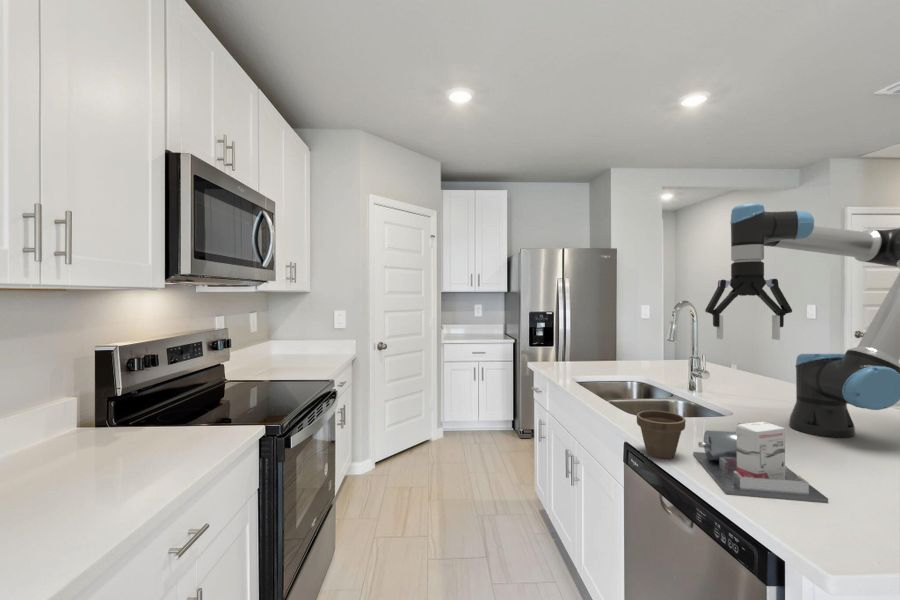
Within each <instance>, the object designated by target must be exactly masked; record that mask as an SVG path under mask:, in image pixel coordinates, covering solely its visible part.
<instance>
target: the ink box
mask: <svg viewBox="0 0 900 600" xmlns="http://www.w3.org/2000/svg"><path fill="white" fill-rule="evenodd" d="M735 427H736V428H735V429H736V431H735V432H736V439H737V472H738V473H739V474H740V475H741V476H742V477H752V478H765V479H778V480H785V465H786V428H784V427H782V426H778V425H776V424H773V423H771V422H770V423H769V422H766V421H756V422H755V421H754V422H748V423H737V425H735Z"/></svg>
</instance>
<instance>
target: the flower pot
mask: <svg viewBox="0 0 900 600" xmlns="http://www.w3.org/2000/svg"><path fill="white" fill-rule="evenodd" d="M686 422H687V421H686V418H685V417H684V416H682V415H680V414H677V413H674V412H670V411H665V410H664V411H663V410H642V411H639V412H637V413H636V424H637V426H638V427H639V428H640V429H641V430H640V431H641V436H642V439H643V443H644V447H645V451H646V453H647V455H648V456H651V457H653V458H658V459H662V460H663V459H665V460H666V459H667V460H668V459H672V458H674V457H675V455H676V452H677V449H678V445H679V443H680V442H679V441H680V437H681V434H682V431H684V430H685V429H686Z"/></svg>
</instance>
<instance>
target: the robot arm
mask: <svg viewBox="0 0 900 600" xmlns="http://www.w3.org/2000/svg"><path fill="white" fill-rule="evenodd" d="M765 210H766V209H765V206H764V204H763V203H757V202H755V203H744V204H738V205H736V206H734V207H733V208H732V209H731V214H730V223H729V224H730V245H731V246H730V249H731V250H730V260H731V261H732V262H731V264H730V275H731V276H730V277H731V278H730V280H726V279H719V280H718V281H717V288H716V290H715V292H714V293H713V295H712V297H711V299H710V301H709V303H708V304H707V306H706V308H705V309H704V312H705V313H706V314H710V315H712V325H713V327H714V328H716V339H719V340H724V315H721V314H722V313H723V312H724V311H725V309H726V308H727V307H728V306H729V305H730V304H731V303H732V302H733V301H734V300H735V299H736V298H737V297H738V296H742V297H745V296H757V298H759V299H761V301H762V302H763V303H764V304H765V305H766V306H767V307H768V308H769V309H770V310H771V311H772V312H773V313H774V314H775V315H773V314H771V340H776V341H780V340H781V328H783V327H784V324H785V323H784V319H785V318H784V317H785V316H786V315H787V314H791V313H792V312H793V309H792V307H791V306H790V304H789V302H788V300H787V299H786V297H785V295H784V293H783V292H782V289H781V288H780V287H779V279H777V278H770V279H765V262H763V260H764V259H765V247H770V248H771V247H773V248H779V249H786V250H787V249H789V250H796V251H797V250H798V251H802V252H803V251H804V252H812V253H813V252H814V253H819V254H828V255H837V256H844V257H850V258H854V259H855V260H857V262H862V263H870V264H877V265H883V266H889V267H895V268H898V269H899V270H900V227H899V228H891V229H871V228H869V229H865V230H863V231H860V230H859V231H858V230H850V229H843V228H834V227H826V226H817V225H815V219H814V216H813V214H811V213H810V212H808V211H806V210H805V211H801V210H800V211H799V210H793V211H792V210H791V211H790V210H789V211H765ZM728 286H730V287H731V288H732V290H731V291H730V292H728V294H727V296H726V297H725V298H724V299H723V300H721V302H720V303H719V301H720V299H721V297H722V296H723V294H724V292H725V290H726V288H728ZM765 286H767V287H768V288H769V290H770V291H771V293H772V295H773V296H774V298H775V300H776V302H777V303H776V302H775V301H774V300H773V299H772V298H771V297H770V296H769V295H768V293H767V292H766V291H765V290H764V289H763V288H764V287H765ZM716 306H717V307H716ZM899 360H900V272H899V273H898V275H897V276H896V278H895V280H894V281H893V284H892V285H891V286H890V288H889V290H888V292H887V294H886V296H885V297H884V299H883V301H882V303H881V304H880V306H879V308H878V310H877V311H876V313H875V315H874V317H873V318H872V320H871V322H870V324H869V326H868V327H867V329H866V330H865V333H864V334H863V336H862V338H861V339H860V342H859V343H858V345H857V346H856V347H852V348H849V349H847V350H846V351H845V353H800V354H798V356H796V362H795V366H794V367H795V372H796V373H795V381H796V383H795V384H796V385H795V386H796V387H795V389H796V392H795V395H796V400H795V404H794V406H793V408H792V412H791V414H790V415H789V420H788V422H789V427H790V428H791V429H793V430H797V431H799V432H802V433H805V434H810V435H816V436H822V437H829V438H850V437H854V436H855V435H856V427H855V424H854V422H853V420H852V417H851V414H850V412H849V409H848V407H847V406H848V404H849V405H851V406H853V407H855V408H860V409H866V410H872V411H881V410H883V409H884V410H885V409H889V408H891V407H893V406H894V405H896V404H897V403H899V402H900V362H899Z"/></svg>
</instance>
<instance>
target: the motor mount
mask: <svg viewBox="0 0 900 600" xmlns="http://www.w3.org/2000/svg"><path fill="white" fill-rule="evenodd" d="M697 445H698V447H699V448H704V452H703V451H701V452H699V451H693V453H692V454H693V455H692V456H694V458H695V459H696V460H697V461H698V463H699V464H700V465H701V466H702V468H704V470H705V471H706V472H707V473H708V474H709V476H710V477H711V478H712V480H714V481H715V483H716V484H717V485H718V486H719V487H720V489H721V490H722V491H723V492H724V494H725V495H730V496H731V495H732V496H733V495H735V496H743V497H745V496H746V497H754V498H755V497H756V498H757V497H758V498H768V499H778V500H791V501H803V502H804V501H805V502H813V503H815V502H816V503H829V498H828V497H826V495H824V494H822V492H820V491H819V490H818V489H816V488H815V487H813V486H812V485H811V484H809V483H810V482H808V481H807V480H806V479H804V478H803V477H801V476H800V475H798V474H797V473H795V472H794V471H792V470H791V469H789V467H788V466H787V465H786V464H785V480H778V479H765V478H752V477H742V476H741V475H740V474H739V473H738V472H737V439H736V431H726V430H725V431H723V430H705V432H704V434H703V441H699V442H698V444H697Z"/></svg>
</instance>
